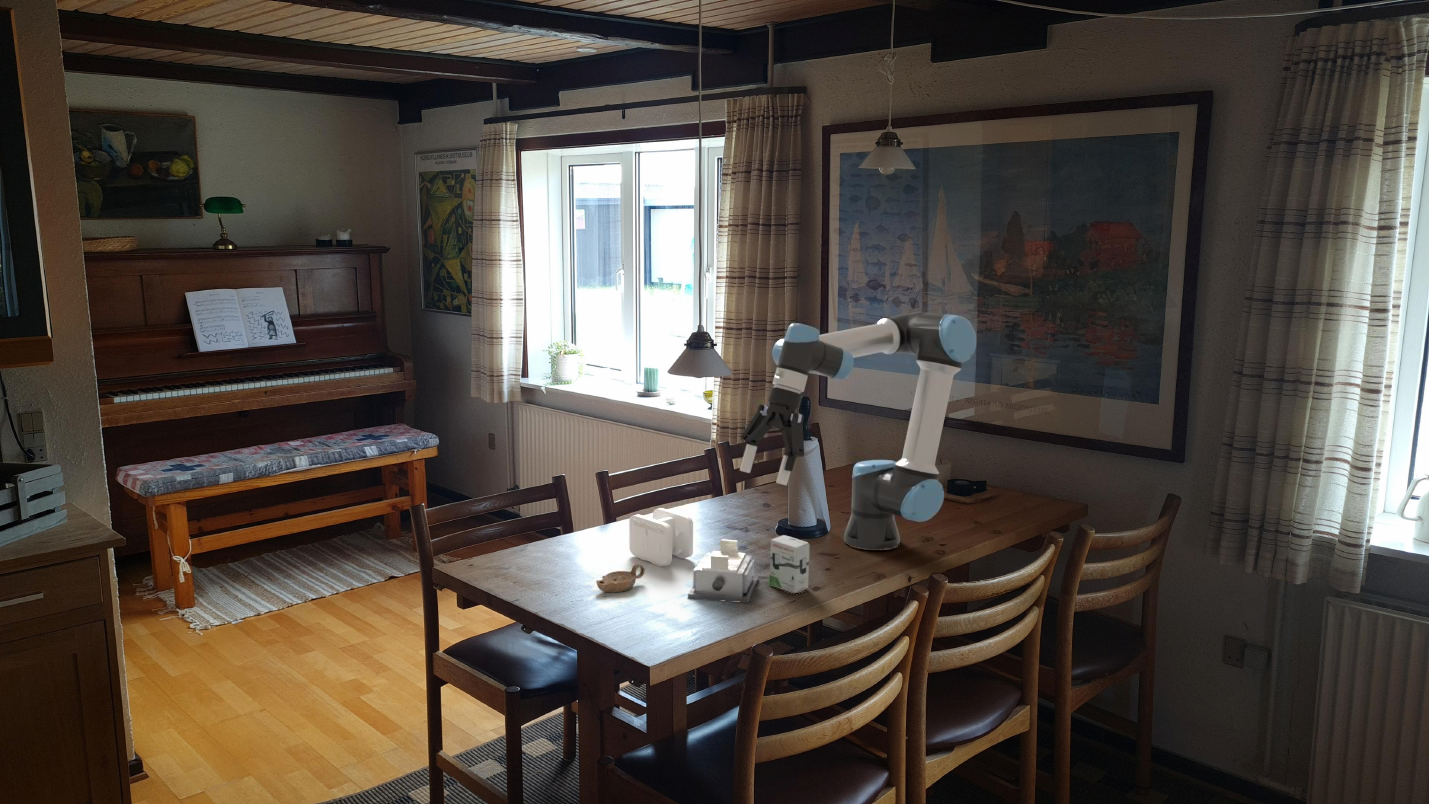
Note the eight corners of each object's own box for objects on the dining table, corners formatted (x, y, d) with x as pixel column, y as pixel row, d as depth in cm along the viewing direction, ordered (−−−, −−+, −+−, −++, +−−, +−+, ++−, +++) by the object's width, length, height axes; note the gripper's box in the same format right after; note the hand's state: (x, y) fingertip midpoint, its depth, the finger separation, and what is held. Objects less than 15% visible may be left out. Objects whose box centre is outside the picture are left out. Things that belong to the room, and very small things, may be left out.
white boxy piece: (758, 579, 241) (759, 540, 239) (747, 604, 225) (747, 561, 223) (702, 575, 243) (702, 535, 242) (687, 598, 227) (687, 557, 226)
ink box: (768, 585, 236) (769, 538, 235) (781, 581, 240) (783, 534, 238) (795, 595, 230) (797, 546, 228) (809, 590, 234) (810, 542, 232)
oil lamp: (604, 598, 227) (604, 578, 226) (589, 589, 233) (588, 569, 232) (652, 587, 235) (652, 567, 234) (636, 578, 241) (636, 559, 240)
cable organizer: (695, 561, 254) (696, 517, 252) (665, 570, 246) (665, 525, 245) (657, 547, 264) (657, 506, 262) (627, 556, 257) (626, 513, 255)
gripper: (742, 378, 236) (718, 464, 235) (811, 393, 216) (785, 486, 215) (765, 386, 240) (742, 469, 240) (835, 401, 220) (809, 492, 220)
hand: (762, 478), depth 228 cm, fingers open, 13 cm apart
